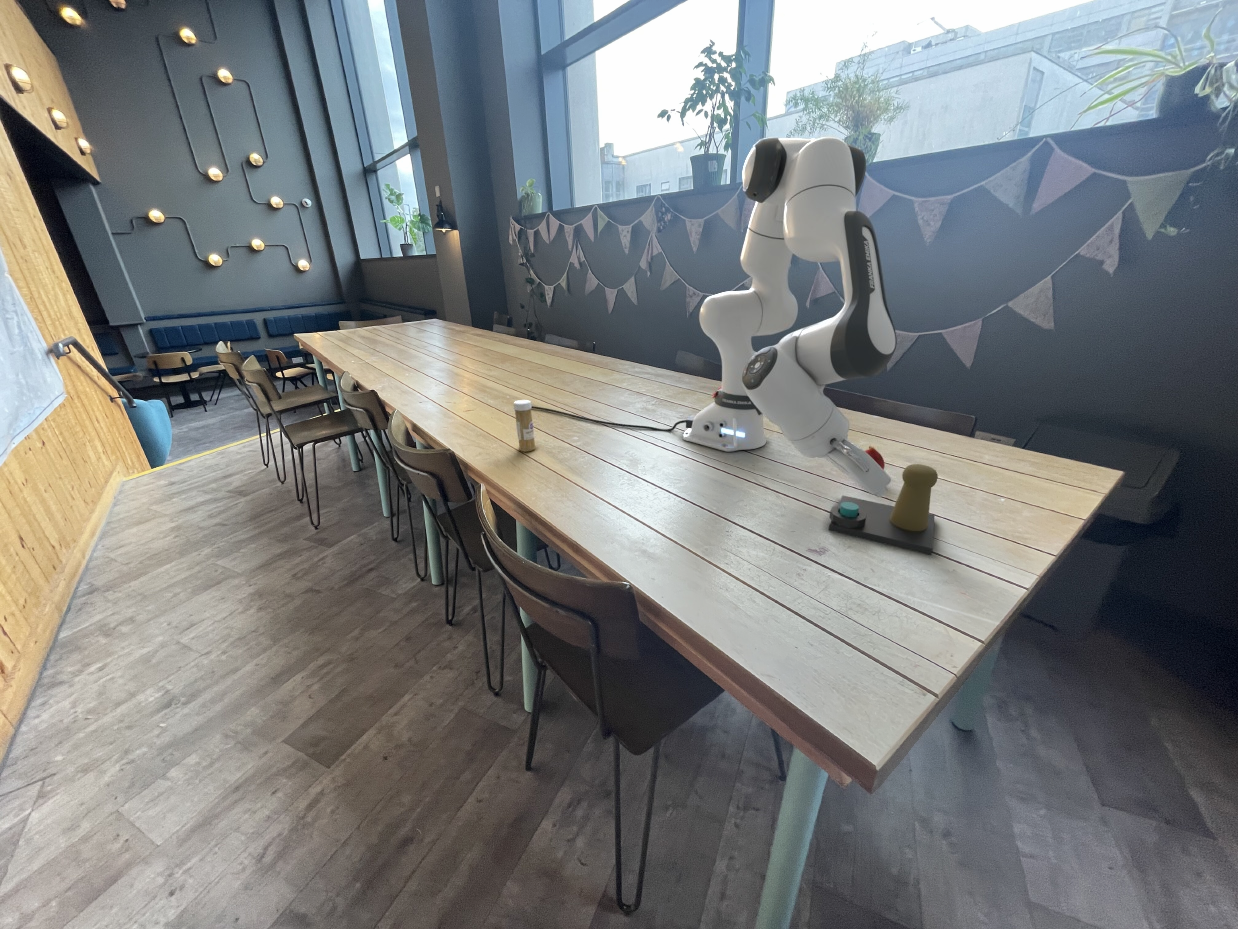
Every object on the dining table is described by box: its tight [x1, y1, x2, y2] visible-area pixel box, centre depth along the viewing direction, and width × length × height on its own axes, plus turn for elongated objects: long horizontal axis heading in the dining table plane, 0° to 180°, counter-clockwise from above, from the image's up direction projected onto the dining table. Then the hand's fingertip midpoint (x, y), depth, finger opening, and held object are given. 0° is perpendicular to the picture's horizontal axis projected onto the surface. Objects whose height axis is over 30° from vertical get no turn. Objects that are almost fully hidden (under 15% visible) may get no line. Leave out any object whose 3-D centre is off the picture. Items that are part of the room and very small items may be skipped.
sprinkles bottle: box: [513, 399, 536, 453], centre depth 126 cm, size 5×5×14 cm
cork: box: [889, 463, 939, 531], centre depth 83 cm, size 6×6×11 cm
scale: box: [828, 495, 936, 556], centre depth 87 cm, size 16×13×3 cm
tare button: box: [839, 502, 859, 517], centre depth 86 cm, size 3×3×2 cm
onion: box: [864, 445, 885, 471], centre depth 103 cm, size 6×6×8 cm
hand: (864, 480), depth 81 cm, fingers open, 8 cm apart
